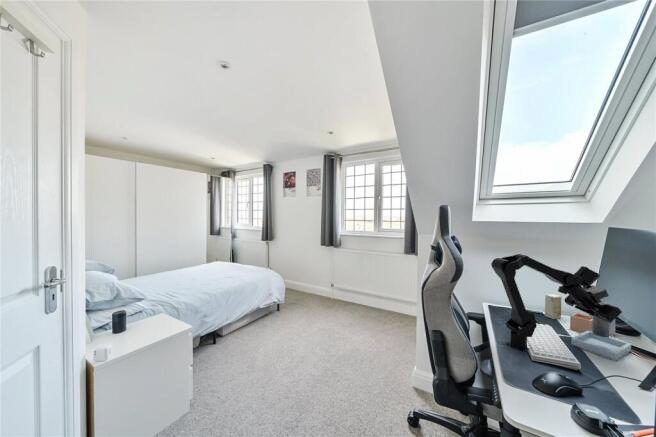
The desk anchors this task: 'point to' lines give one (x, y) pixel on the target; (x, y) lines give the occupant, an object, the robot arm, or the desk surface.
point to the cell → (600, 326)
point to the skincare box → (553, 306)
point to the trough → (601, 345)
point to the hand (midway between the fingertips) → (604, 319)
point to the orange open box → (581, 322)
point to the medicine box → (612, 327)
